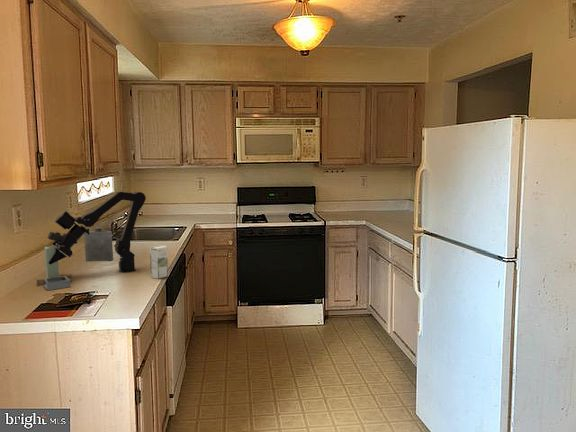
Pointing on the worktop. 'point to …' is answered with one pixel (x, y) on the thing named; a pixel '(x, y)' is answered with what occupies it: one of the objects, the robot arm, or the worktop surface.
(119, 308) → the worktop surface
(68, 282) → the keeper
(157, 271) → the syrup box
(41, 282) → the brown wooden bar
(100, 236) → the flask
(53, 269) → the bar
